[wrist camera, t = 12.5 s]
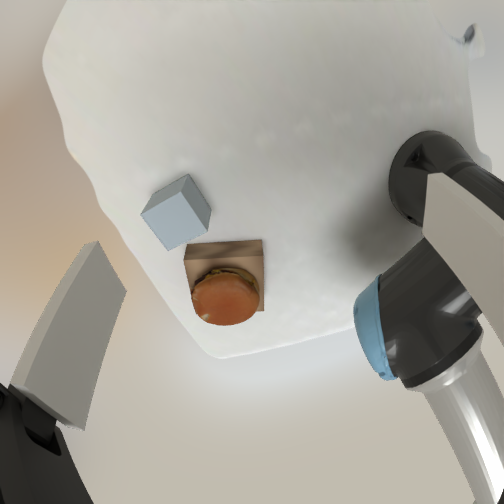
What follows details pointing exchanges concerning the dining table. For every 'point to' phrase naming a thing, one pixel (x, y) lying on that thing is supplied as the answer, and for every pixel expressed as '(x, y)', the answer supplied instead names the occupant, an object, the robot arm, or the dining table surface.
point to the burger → (226, 296)
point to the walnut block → (226, 260)
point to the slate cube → (177, 213)
